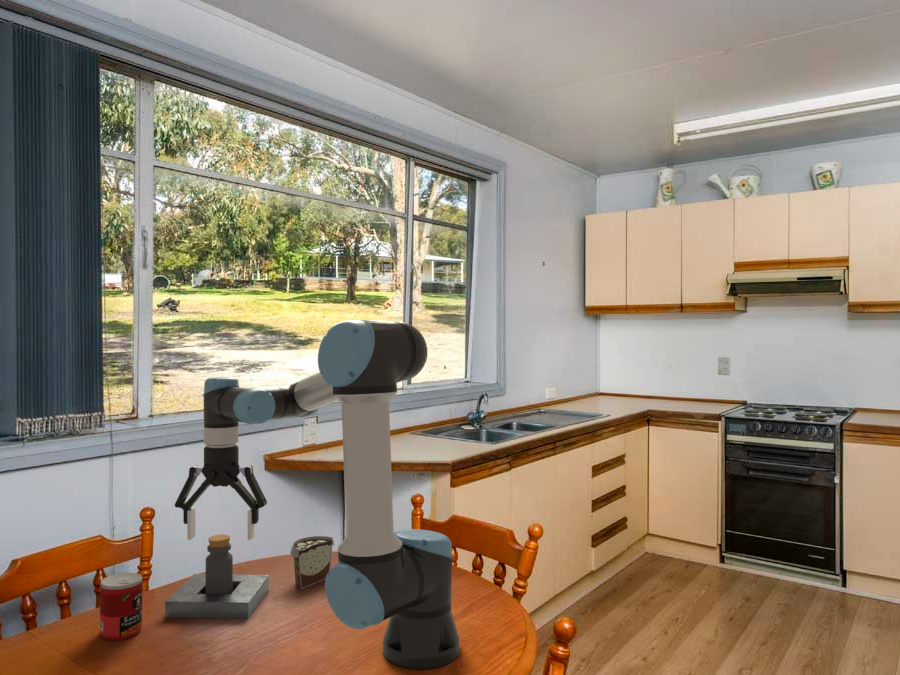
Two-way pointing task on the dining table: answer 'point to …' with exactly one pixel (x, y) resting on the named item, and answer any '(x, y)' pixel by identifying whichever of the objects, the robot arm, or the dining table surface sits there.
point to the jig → (217, 598)
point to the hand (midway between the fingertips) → (221, 538)
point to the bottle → (219, 566)
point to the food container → (311, 559)
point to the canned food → (120, 606)
